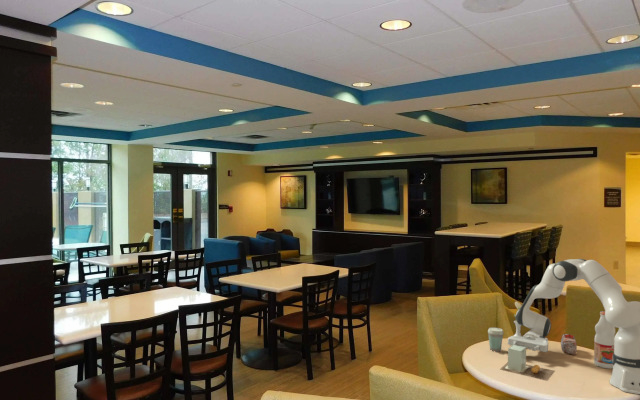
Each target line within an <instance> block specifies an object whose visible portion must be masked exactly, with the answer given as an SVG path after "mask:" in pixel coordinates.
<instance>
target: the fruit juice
mask: <svg viewBox="0 0 640 400" xmlns="http://www.w3.org/2000/svg"><path fill="white" fill-rule="evenodd" d="M599 315H600V317H599V320H598V322H597V323H596V324H595V326H594V331H595V335H594V341H593V342H594V347H593V348H594V349H593V350H594V351H593V353H594V354H593V357H594V358H593V363H594V365H595V366H597V367H599V368H603V369H613V353H614V338H615V335H616V327H613V326H611V325H610V324H609V323H608V322H607V320H606V318H605V310H604V311H603V310H602V311H600V312H599Z"/></svg>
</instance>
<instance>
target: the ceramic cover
mask: <svg viewBox="0 0 640 400" xmlns="http://www.w3.org/2000/svg"><path fill="white" fill-rule="evenodd" d="M507 350H508V351H507V362H508V369H513V370H517V371H522V370H523V369H524V368H525V367H526V364H527V348H526V347H523V346H518V345H510V346H509V347H508V348H507Z"/></svg>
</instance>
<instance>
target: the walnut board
mask: <svg viewBox="0 0 640 400" xmlns="http://www.w3.org/2000/svg"><path fill="white" fill-rule="evenodd" d="M533 367H534V365H530V364H527V363H526V367H525V368H524V369H523V370H522V371H517V370H513V369H508V361H507V362H506V363H505V364H503V365H502V366H501V367H500V368H499V370H501V371H505V372H508V373H513V374H517V375H521V376H525V377H529V378H534V379H537V380H538V379H539V380H542V381H548V382H549V379H550V378H551V377H552V376H553V374H554V373H555V370H553V369H549V368H545V367H544V368H543V367H540V370H539V371H538V373H533V372H532V370H531V369H532V368H533Z"/></svg>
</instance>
